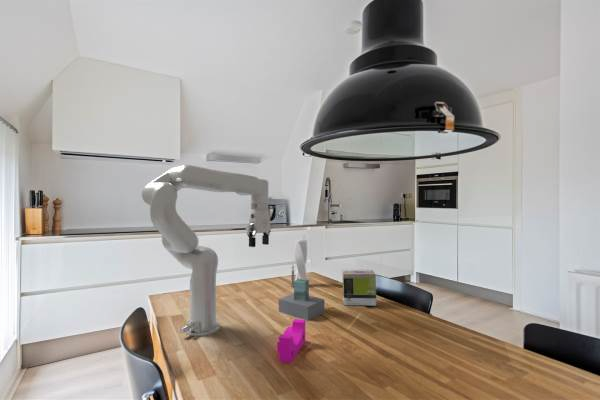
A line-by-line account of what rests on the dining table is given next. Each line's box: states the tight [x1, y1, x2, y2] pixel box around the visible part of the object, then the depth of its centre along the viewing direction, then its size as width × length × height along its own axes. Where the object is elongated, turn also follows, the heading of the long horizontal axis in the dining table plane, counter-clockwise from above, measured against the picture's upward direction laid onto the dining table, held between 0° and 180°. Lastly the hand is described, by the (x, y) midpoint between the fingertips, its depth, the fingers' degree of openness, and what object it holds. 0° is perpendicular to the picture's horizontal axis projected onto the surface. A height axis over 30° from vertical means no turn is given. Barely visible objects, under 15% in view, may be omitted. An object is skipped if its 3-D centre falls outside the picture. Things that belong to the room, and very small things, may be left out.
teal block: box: [293, 279, 310, 301], centre depth 135 cm, size 5×5×8 cm
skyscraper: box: [290, 235, 308, 287], centre depth 178 cm, size 8×8×28 cm
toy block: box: [276, 318, 306, 363], centre depth 101 cm, size 15×6×8 cm, turn 161°
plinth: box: [278, 292, 325, 321], centre depth 135 cm, size 12×16×6 cm
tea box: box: [341, 269, 377, 307], centre depth 147 cm, size 15×10×15 cm, turn 84°
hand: (258, 245), depth 137 cm, fingers open, 9 cm apart
